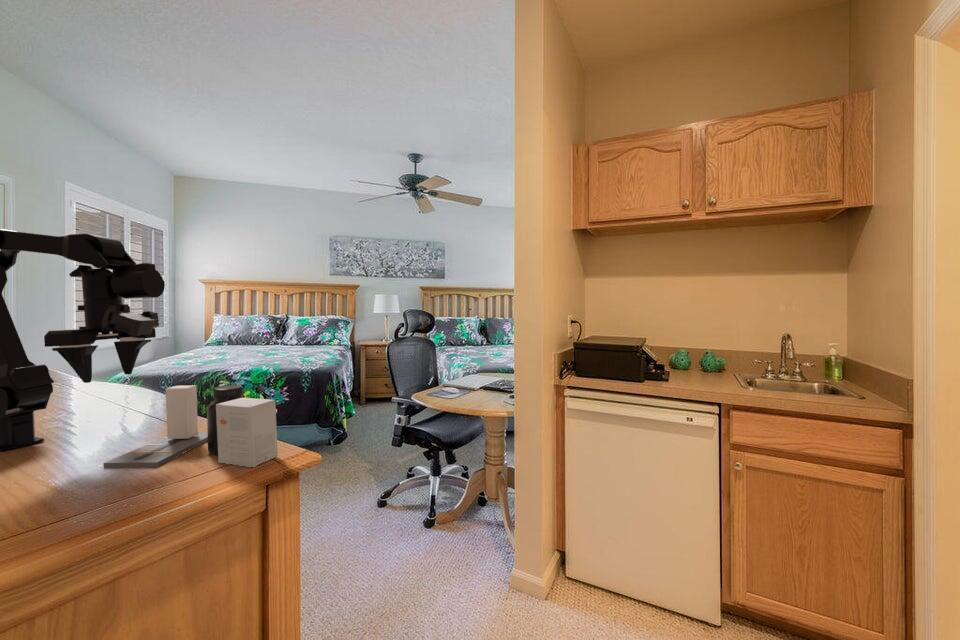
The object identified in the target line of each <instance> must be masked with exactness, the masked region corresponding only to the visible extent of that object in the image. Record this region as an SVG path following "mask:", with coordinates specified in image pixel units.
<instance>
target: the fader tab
mask: <svg viewBox="0 0 960 640" xmlns="http://www.w3.org/2000/svg"><path fill="white" fill-rule="evenodd" d="M197 395H198V393H197V385H196V384H194V385H192V384H191V385H174V386H170V387H167V388H165V405H166V406H165V407H166V409H165V410H166V430H167V431H166V432H167V433H166V436H167V438H168V439H187V438H190V437H192V436H194V435H196V434H198V432H199V430H198V429H199V428H198V427H199V425H198V398H197Z"/></svg>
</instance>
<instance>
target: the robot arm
mask: <svg viewBox="0 0 960 640" xmlns="http://www.w3.org/2000/svg"><path fill="white" fill-rule="evenodd" d="M21 252H29V253H36V254H37V253H39V254H47V255H55V256H60V257H63V258H65V259H67V260H70V261H73V262H77V263H80V264H79V265H78V266H77V268H75V269H74V270H72V271H71V272H70V273H69V277H71V278H81V287H82V300H83V304H81V305H77V312H78V311H79V312H83V313H84V314H83V316H84V325H85V326H79V327H78V329H76V328H75V329H60V330H48V331H47V333H45V334H44V335H43V339H44V341H43V342H44V347H46V348H47V347H48V348H49V347H52V349H51V350H52V351H53V352H57V353H58V354H59V355H60V356H61V357H62V358H63V359H64V360H65V361H66V362H67V363H68V364H69V366H70V368H71V369H73V371H74V373H76V374H77V376H78V377H79V378H80V380H81V381H82V382H83V383H85V384H86V383H87V384H88V383H91V382H92V377H93V362H92V361H93V358H92V357H93V356H92V355H93V353H94V352H95V351H96V349H97V348H98V347H99V345H93V344H94V343H95V342H96V341H102V340H103V341H104V340H113V339H114V340H115V339H116V340H117V341H113V343H114V347H115V350H116V353H117V356H118V359H119V363H120V366H121V368H122V371H123V373H124V375H126V376H128V375H132V373H133V370H134V368H135V365H136V362H137V359H138V356H139V353H140V352H141V349H142V348H143V347H145V345H146V344H147V343H151V341H152V338H153V339H154V338H156V337H157V335H156V328H157V327H159V325H160V323H159V322H160V321H159V320H160V319H159V314H158V312H156V311H152V310H144V311H143V312H142V313H136V312H135V313H134V312H131V307H130V306H129V304H128V303H126V304H123V299H128V300H129V299H150V298H151V299H152V298H159V297H161V296H162V294H163V293H164V291H165V286H166V283H165V280H164V279H163V276H162V274H160V272H159V271H158V270H156V264H155V263H151V262H140V263H136V261H135V260H134V259H133V258H132V257H131V256H130V255H129V253H128V252H127V251H126V249H125V247H124V245H123V243H122V242H121V240H119V239H117V238H113V237H107V236H101V235H97V234H91V233H74V234H73V233H72V234H71V233H70V234H67V235H63V236H57V235H49V234H47V235H46V234H42V233H32V232H31V233H30V232H22V231H18V230H17V231H16V230H9V229H5V228H0V452H2V451H8V450H12V449H16V448H20V447H25V446H28V445H33V444H38V443H41V442H44V441H45V438H43V437H38V436H36V431H35V429H36V428H35V427H36V426H35V425H36V424H35V411H40V410H46V409H47V407H48V403H49V400H50V398H51V395H52V393H53V392H54V387H53V384H54V383H55V380H54V379H53V378H52V377H51V375H50V371H49V368H48V366H47V365H46V364H39V365H38V364H37V365H36V364H35V363H33V362H32V361H31V360H30V359H29V357H28V355H27V353H26V350H25V349H24V346H23V343H22V341H21V338H20V336H19V333H18V330H17V328H16V326H15V323H14V321H13V318H12V316H11V312H10V311H9V308H8V306H7V303H6V301H5V297H4V296H3V292H4V289H5V287H6V284H7V283H8V276H7V271H8V270H10V269H11V268H12V267H13V266H15V265H16V263H17V257H18V254H19V253H21ZM84 264H85V265H84ZM92 266H93V267H94V268H93V267H92ZM111 270H112V271H111Z"/></svg>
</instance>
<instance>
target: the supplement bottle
mask: <svg viewBox="0 0 960 640" xmlns="http://www.w3.org/2000/svg"><path fill="white" fill-rule="evenodd" d="M243 389H244V388H243V385H237V384H234V385H232V384H230V385H221V386H216V387H214V388H213V395H212V398H213V399H214V400H213V401H212V402H211V403H210V404H209V405H208V406H207V411H206V415H207V417H206V421H207V423H206V425H207V428H206V429H207V431H206V432H208V441H207V451H208V453H209V454H211V455H212V456H218V441H217V419H216V404H219V403H223V402H227V401H231V400H235V399H239V398H243V396H244V393H243V392H244V390H243Z"/></svg>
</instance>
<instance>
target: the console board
mask: <svg viewBox="0 0 960 640" xmlns="http://www.w3.org/2000/svg"><path fill="white" fill-rule="evenodd" d="M206 442H208V432H207V431H198V434H196V435H194V436H192V437H190V438H187V439H168V438H167V435H165V436H163V437H161V438H158V439H156V440H153V441H152V442H150V443H147V444H145V445H142V446H140V447H137V448H135V449H132V450H131V451H128V452H125V453H124V454H121V455H119V456H116V457H115V458H112V459H110V460H107V461H105V462H103V465H102V466H103V468H104V469H106V468H107V469H108V468H158V467H160V466H161V465H163V463H164V464H166V463H168V462H169V460H170V461H171V459H172V460H173V459H175V458H177V457H179V456H181V455H183V454H184V453H183V452H185V451H187V452H189V451H190V450H189V449H191V448H193V447H195V446H197V447H199V446H201V445H203V444H205V443H206ZM202 443H203V444H202ZM200 444H201V445H200ZM198 445H199V446H198ZM195 448H196V447H195ZM193 449H194V448H193ZM188 450H189V451H188ZM191 450H192V449H191ZM182 453H183V454H182ZM185 453H186V452H185ZM180 454H181V455H180ZM178 455H179V456H178ZM176 456H177V457H176ZM174 457H175V458H174ZM167 461H168V462H167ZM165 462H166V463H165Z"/></svg>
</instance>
